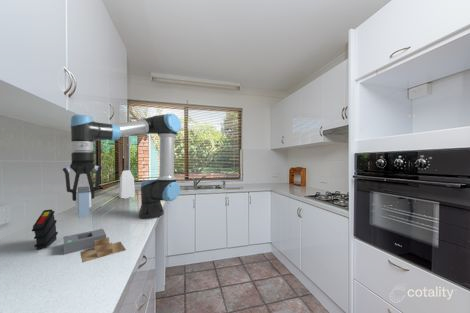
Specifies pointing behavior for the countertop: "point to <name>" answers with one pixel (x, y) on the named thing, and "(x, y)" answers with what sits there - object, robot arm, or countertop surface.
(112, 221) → the countertop surface
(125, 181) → the milk
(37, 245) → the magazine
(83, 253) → the holster
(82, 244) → the port box
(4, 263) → the countertop surface
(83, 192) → the plug
